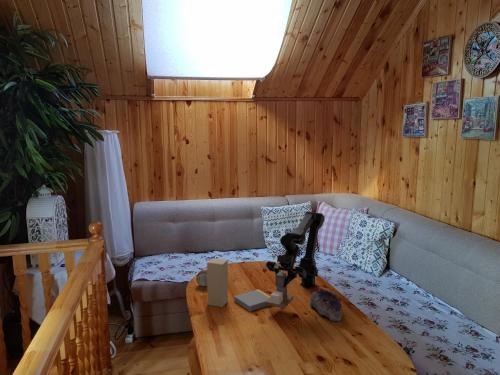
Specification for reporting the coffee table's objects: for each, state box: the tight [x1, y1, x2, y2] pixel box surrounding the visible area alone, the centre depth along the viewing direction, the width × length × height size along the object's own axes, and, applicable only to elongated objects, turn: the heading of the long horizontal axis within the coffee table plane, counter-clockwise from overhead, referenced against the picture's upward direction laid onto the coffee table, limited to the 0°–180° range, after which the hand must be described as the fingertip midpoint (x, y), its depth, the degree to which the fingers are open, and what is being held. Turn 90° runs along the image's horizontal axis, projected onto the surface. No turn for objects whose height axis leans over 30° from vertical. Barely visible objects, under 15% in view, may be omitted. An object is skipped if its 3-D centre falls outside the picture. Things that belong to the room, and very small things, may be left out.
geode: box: [309, 288, 343, 323], centre depth 184 cm, size 20×12×10 cm, turn 20°
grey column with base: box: [265, 271, 294, 311], centre depth 183 cm, size 10×9×13 cm
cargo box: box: [270, 290, 283, 304], centre depth 181 cm, size 4×4×4 cm
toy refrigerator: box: [206, 257, 229, 308], centre depth 193 cm, size 8×7×21 cm
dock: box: [233, 288, 271, 312], centre depth 194 cm, size 14×13×3 cm
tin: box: [195, 269, 207, 288], centre depth 213 cm, size 15×3×8 cm, turn 84°
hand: (280, 286), depth 184 cm, fingers closed on grey column with base, 3 cm apart
